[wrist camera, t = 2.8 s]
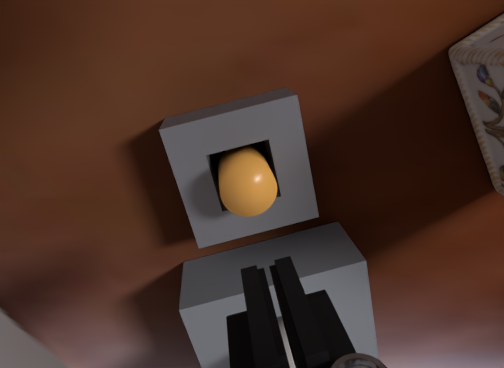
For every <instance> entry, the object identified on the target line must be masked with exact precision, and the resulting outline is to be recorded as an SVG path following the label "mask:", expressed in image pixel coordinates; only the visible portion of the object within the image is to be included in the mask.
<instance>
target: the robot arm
mask: <svg viewBox="0 0 504 368" xmlns="http://www.w3.org/2000/svg"><path fill="white" fill-rule="evenodd" d="M274 262H275V265H271V266H269V269H270V272H271V276H272V280H273V284H274V288H275V292H276V296H277V300H278V304H279V308H280V312H281V315H282V319H283V323H284V327H285V331H286V335H287V339H288V342H289V346H290V349H291V353H292V356H293V360H294V364H295V367H296V368H387V367H386V366H385V365H384V364H383V363H382V362H381V361H380V360H378V359H377V358H375V357H373V356H371V355H367V354H363V353H357V352H356V350H355V348H354V346H353V344H352V342H351V340H350V338H349V336H348V334H347V332H346V330H345V328H344V326H343V324H342V322H341V320H340V318H339V316H338V314H337V312H336V310H335V308H334V306H333V304H332V302H331V300H330V298H329V296H328V294H327V292H326V290H325V289H324V290H321V291H317V292H313V293H310V294H305V292H304V289H303V287H302V284H301V282H300V279H299V277H298V274H297V272H296V269H295V267H294V264H293V262H292V259H291V257H290V256H288V257H284V258H280V259H276V260H274ZM240 270H241V277H242V284H243V290H244V297H245V303H246V309H247V311H243V312H240V313H236V314H232V315H229V316H227V317H226V322H227V335H228V348H229V362H230V368H290V366H289V362H288V358H287V354H286V350H285V347H284V343H283V339H282V335H281V331H280V327H279V324H278V320H277V316H276V312H275V308H274V305H273V301H272V297H271V293H270V289H269V286H268V282H267V278H266V274H265V270H264V268H260V269H257V265H254V266H250V267H247V268H243V269H240Z"/></svg>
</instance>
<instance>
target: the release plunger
mask: <svg viewBox="0 0 504 368" xmlns="http://www.w3.org/2000/svg"><path fill="white" fill-rule="evenodd" d="M218 177H219V188H220V197H221V200H222V202H223V204H224V206H225V207H226V208H227V209H228V210H229V211H230V212H232V213H234V214H236V215H239V216H243V217H251V216H256V215H259V214H261V213H263V212H265V211H266V210H267V209H268V208H269V207H270V206H271V205H272V204H273V202H274V201H275V198H276V195H277V183H276V180H275V178H274V175H273V173H272V171H271V169H270V167H269V165H268V163H267V161H266V159H265V157H264V156H263V154H262V153H261V152H260V151H259V150H258V149H256V148H255V147H253V146H250V145H244V146H241V147H237V148H233V149H229V150H227V151H226V152H225V153H224V154H223V155H222V156H221V158H220V160H219V163H218Z"/></svg>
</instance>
